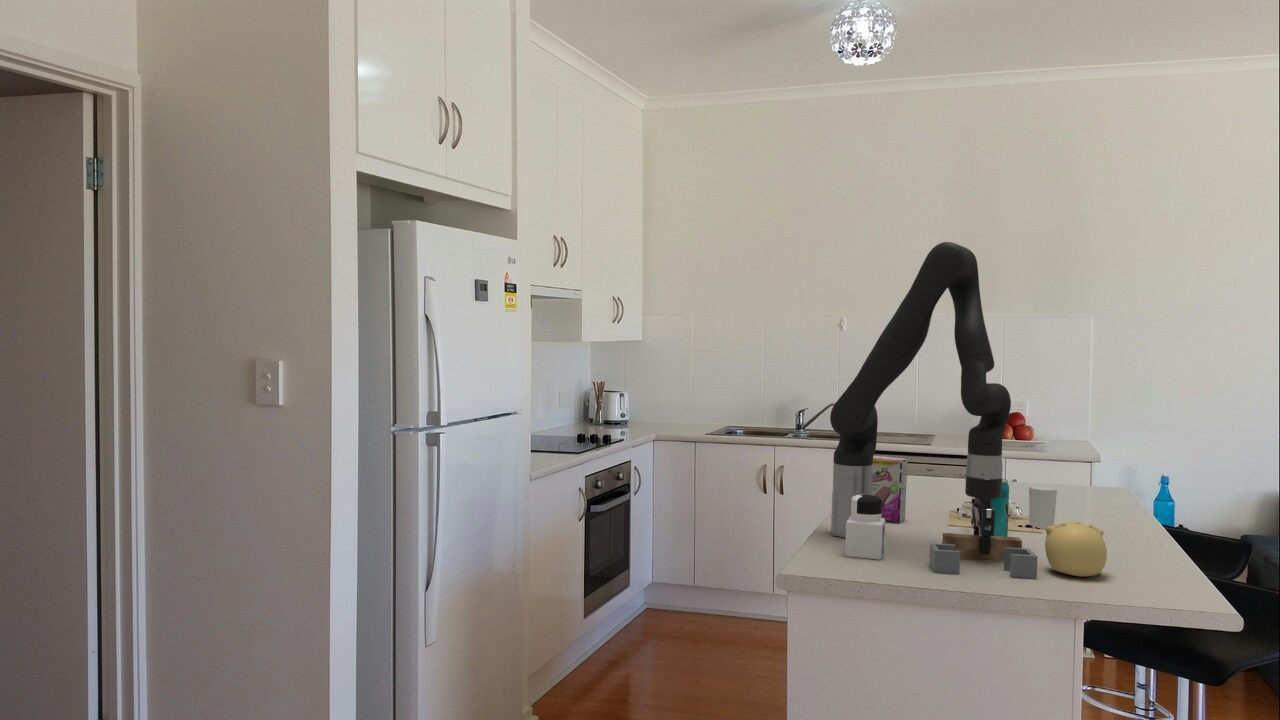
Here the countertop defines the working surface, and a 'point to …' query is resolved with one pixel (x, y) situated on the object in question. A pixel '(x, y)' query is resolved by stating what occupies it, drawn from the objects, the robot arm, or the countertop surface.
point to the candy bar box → (890, 486)
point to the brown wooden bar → (970, 546)
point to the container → (865, 528)
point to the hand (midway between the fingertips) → (981, 550)
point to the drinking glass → (1042, 506)
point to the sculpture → (1075, 548)
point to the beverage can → (1001, 511)
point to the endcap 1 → (944, 558)
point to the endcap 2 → (1020, 562)
